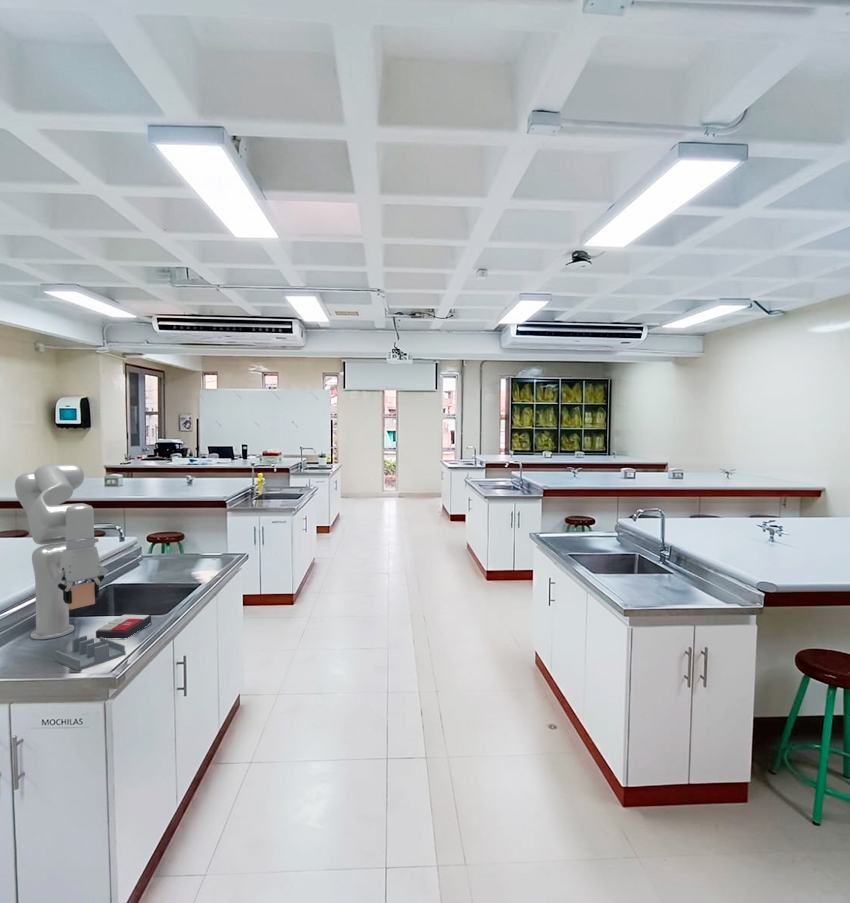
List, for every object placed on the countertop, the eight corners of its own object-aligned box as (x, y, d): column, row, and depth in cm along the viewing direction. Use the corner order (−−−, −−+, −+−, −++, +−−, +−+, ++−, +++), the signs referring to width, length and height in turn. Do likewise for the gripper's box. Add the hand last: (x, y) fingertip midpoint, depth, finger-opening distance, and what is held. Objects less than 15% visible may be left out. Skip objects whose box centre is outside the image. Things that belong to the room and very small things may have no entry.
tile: (67, 608, 162) (67, 586, 162) (91, 602, 168) (91, 581, 168) (71, 609, 161) (70, 587, 161) (95, 603, 167) (94, 582, 167)
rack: (54, 660, 160) (54, 644, 160) (102, 645, 172) (102, 630, 172) (77, 671, 153) (77, 654, 152) (125, 654, 164) (125, 638, 164)
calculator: (94, 629, 178) (123, 612, 193) (95, 641, 178) (123, 624, 193) (125, 629, 177) (151, 613, 192) (125, 642, 178) (151, 624, 192)
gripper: (102, 539, 174) (104, 592, 174) (43, 548, 159) (44, 605, 159) (114, 540, 170) (116, 594, 170) (55, 549, 155) (56, 609, 155)
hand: (81, 599), depth 164 cm, fingers closed on tile, 7 cm apart
